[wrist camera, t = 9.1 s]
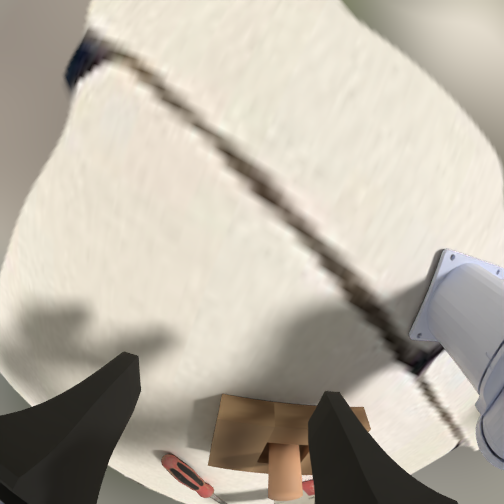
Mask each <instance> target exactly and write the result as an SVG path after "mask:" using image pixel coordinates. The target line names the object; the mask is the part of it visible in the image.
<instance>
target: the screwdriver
mask: <svg viewBox="0 0 504 504" xmlns="http://www.w3.org/2000/svg"><path fill="white" fill-rule="evenodd" d="M161 462H162V465H163V466H164V467H165V468H166V469H167V471H168V472H169V473H170V474H171V475H172V476H173V477H174V478H175V479H176V480H178V481H179V482H180V483H182V484H184V485H186V486H187V487H189V488H190V489H192V490H195V491H196V492H197V493H198V494H199V495H200V496H201V497H203V498H208V497H211V498H212V499H214V500H216V501H217V502H219V503H220V504H227V503H225V502H224V501H223V500H221V499H220V498H218V497H217V496H216V495H215V494H213V493H214V489H213V487H212V486H210V485H209V484H206V483H204V481H203V479H201V478H200V477H199V476H198V475H197V474H196V472H195V471H194V470H193V469H192V468H190V467H189V466H188V465H187V464H185V463H184V462H182V461H181V460H180V459H178V458H177V457H175V456H174V455H171V454H168V455H165V456H163V457H162V460H161Z"/></svg>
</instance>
